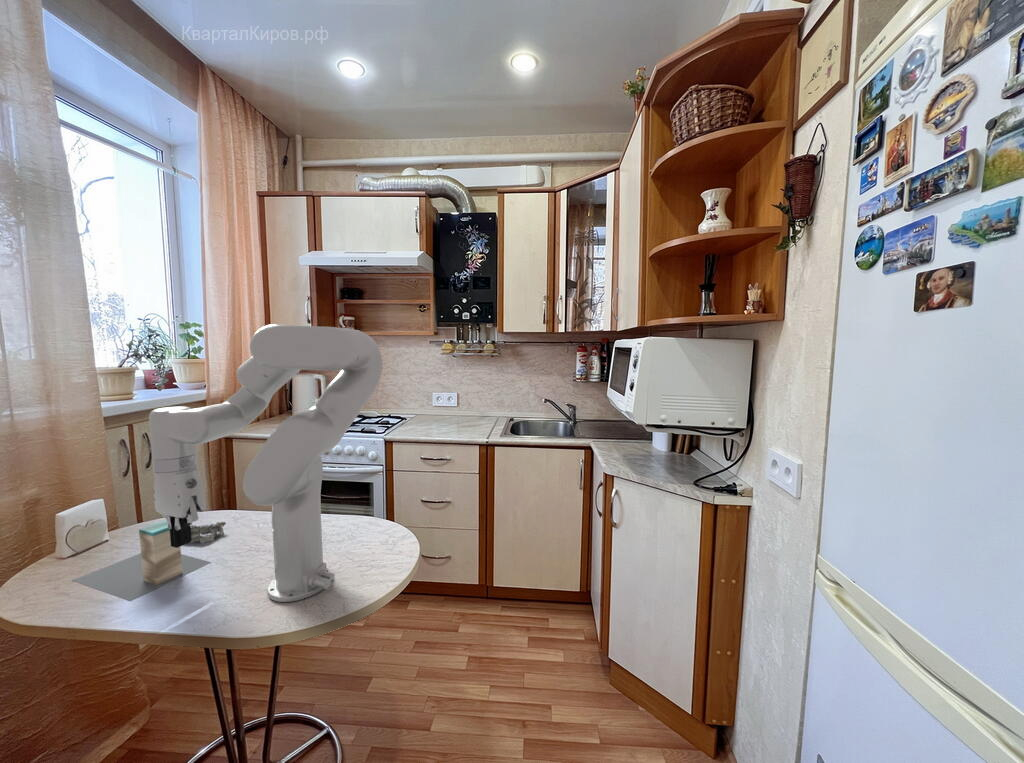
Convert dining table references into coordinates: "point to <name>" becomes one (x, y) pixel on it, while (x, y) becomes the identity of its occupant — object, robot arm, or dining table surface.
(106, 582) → the rubber mat
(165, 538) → the birch block
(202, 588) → the dining table surface
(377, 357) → the robot arm
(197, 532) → the grey jagged stone ring
